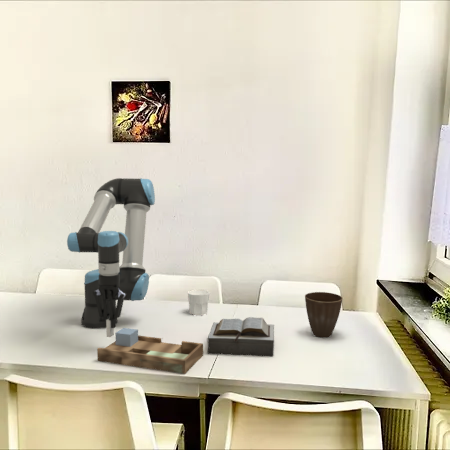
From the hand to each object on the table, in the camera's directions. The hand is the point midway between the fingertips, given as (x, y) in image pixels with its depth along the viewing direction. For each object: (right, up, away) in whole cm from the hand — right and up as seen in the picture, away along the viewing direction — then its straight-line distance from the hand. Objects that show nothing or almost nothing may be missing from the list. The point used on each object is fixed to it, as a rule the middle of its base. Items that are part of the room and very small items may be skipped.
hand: (110, 335), depth 190 cm
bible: (+49, -6, +5) cm, 50 cm away
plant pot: (+82, -4, +18) cm, 84 cm away
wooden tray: (+16, -6, -8) cm, 19 cm away
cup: (+30, 0, +46) cm, 55 cm away
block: (+7, -2, -2) cm, 7 cm away
